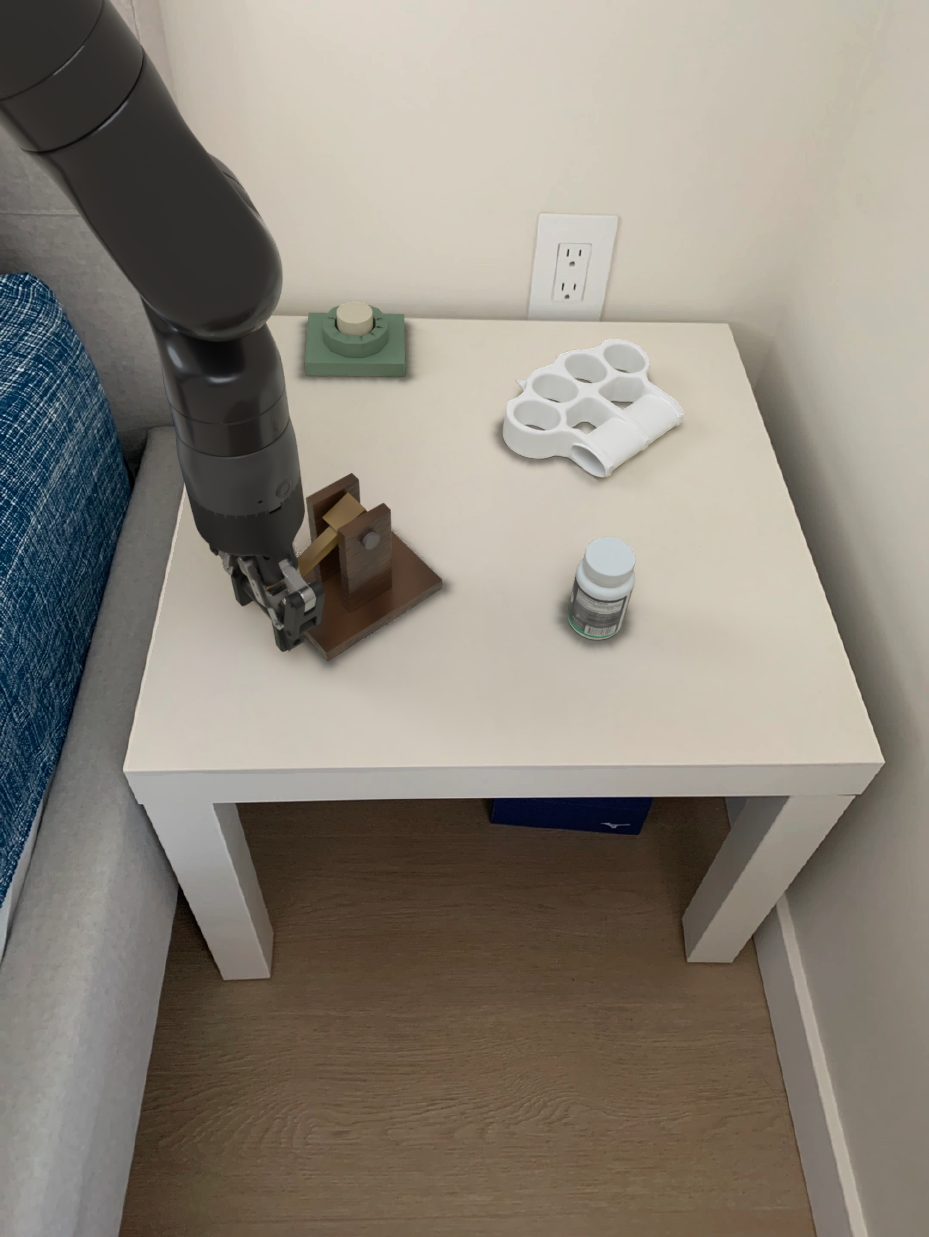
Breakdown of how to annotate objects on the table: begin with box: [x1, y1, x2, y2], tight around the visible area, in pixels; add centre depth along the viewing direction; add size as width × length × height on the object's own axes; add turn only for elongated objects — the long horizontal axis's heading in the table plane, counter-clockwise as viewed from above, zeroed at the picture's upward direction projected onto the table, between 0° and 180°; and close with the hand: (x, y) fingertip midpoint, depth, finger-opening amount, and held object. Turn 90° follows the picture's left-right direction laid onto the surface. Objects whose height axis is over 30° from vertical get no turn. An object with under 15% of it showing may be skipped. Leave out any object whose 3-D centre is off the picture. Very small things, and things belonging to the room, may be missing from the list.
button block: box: [304, 304, 406, 377], centre depth 100 cm, size 10×8×4 cm
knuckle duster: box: [502, 338, 685, 478], centre depth 96 cm, size 3×18×15 cm
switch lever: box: [241, 493, 369, 622], centre depth 76 cm, size 11×5×2 cm, turn 131°
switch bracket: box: [266, 472, 443, 661], centre depth 79 cm, size 12×9×11 cm
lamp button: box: [336, 300, 373, 336], centre depth 98 cm, size 4×4×2 cm
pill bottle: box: [567, 536, 637, 641], centre depth 79 cm, size 5×5×8 cm
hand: (270, 620), depth 78 cm, fingers closed on switch lever, 5 cm apart
